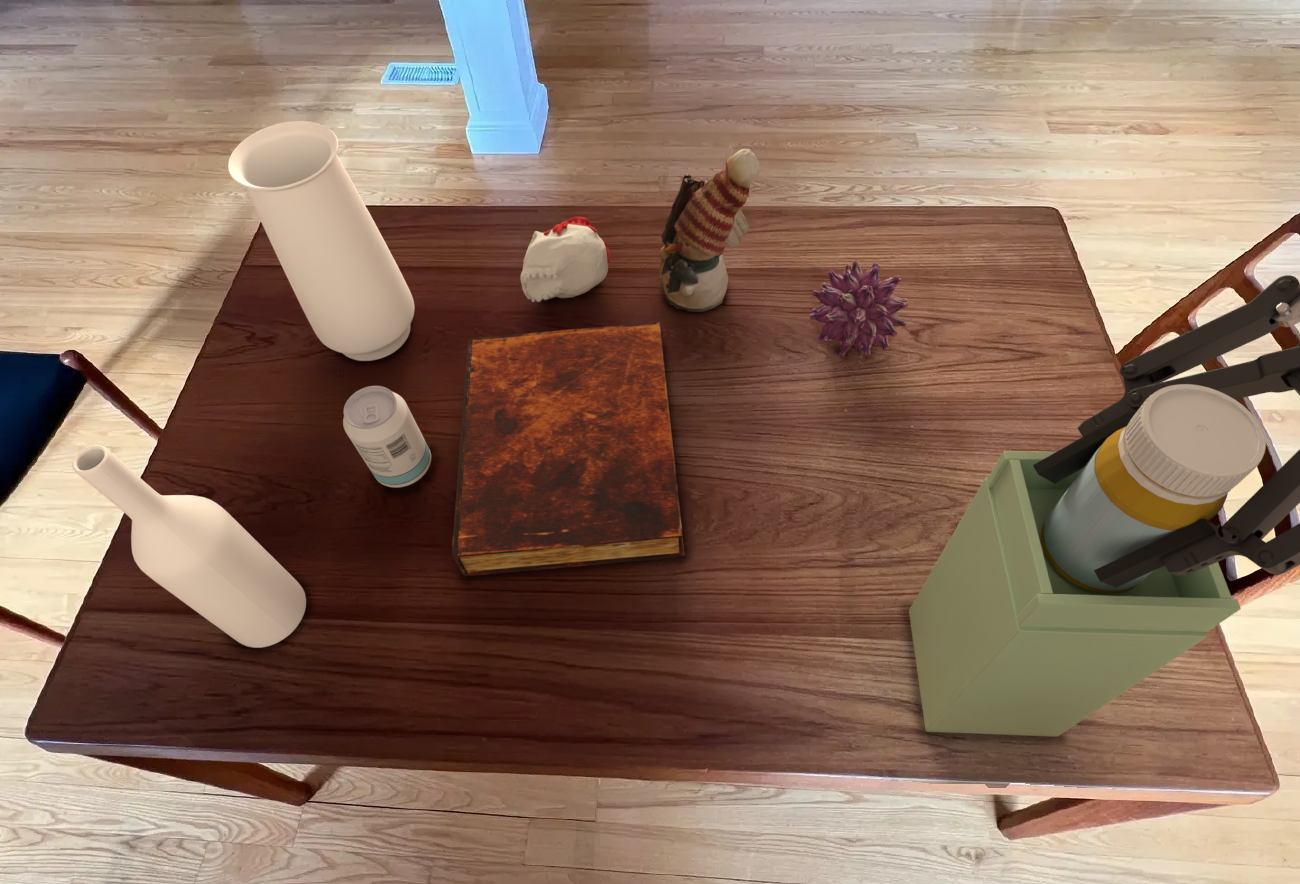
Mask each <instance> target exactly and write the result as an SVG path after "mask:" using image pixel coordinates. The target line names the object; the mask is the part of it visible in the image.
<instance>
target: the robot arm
mask: <svg viewBox="0 0 1300 884" xmlns="http://www.w3.org/2000/svg"><path fill="white" fill-rule="evenodd" d="M1299 323H1300V281H1299V279H1298V278H1297V277H1296V276H1294V275H1288V274H1286V275H1281V276H1279V277H1277V278H1275V280H1273V281H1272V282H1271V283H1270V284H1269V285H1268V286H1267V287H1266V288H1264V289H1263V290H1262V291H1261V292H1260V293H1258V294H1257V295H1256V296H1255V297H1254V298H1253V299H1251V300H1250V301H1249V302H1248V303H1246V304H1243V305H1242V306H1239V307H1236V308H1234V309H1233V310H1231V311H1229V312H1227V313H1224V314H1223V315H1221V316H1219V317H1216V318H1215V319H1212V320H1210V321H1208V322H1206V323H1203V324H1201V325H1200V326H1198V327H1196V328H1193V329H1190V331H1188V332H1187V331H1186V332H1185V333H1183V334H1180V335H1179V336H1177V337H1174V338H1172V339H1170V340H1168V341H1167V342H1164V343H1162V344H1160V345H1158V346H1156V347H1153V348H1152V349H1150V350H1147V351H1145V352H1144V353H1141V354H1139V355H1137V356H1134V357H1133V358H1130V359H1129V360H1127V361H1125V362H1123V363H1122V364H1121V366H1120V368H1119V374H1120V375H1121V377H1122V379H1123V384H1124V394H1123V396H1122V397H1121V398H1120V399H1119V400H1118V401H1116V402H1114V403H1113V404H1111V405H1109V406H1107V407H1106V408H1104V409H1102V410H1101V411H1099V412H1098V413H1096V414H1093V415H1092V416H1090V417H1088V418H1087V419H1085V420H1084V421H1083V420H1082V422H1081V423H1080V425H1079V426H1078V427H1077V430H1078V431H1079V433H1080V435H1081V436H1082V437H1080V438H1078V439H1076V440H1075V441H1073V442H1071V443H1069V444H1067V445H1066V446H1063V447H1062V448H1061V449H1059V450H1057V451H1054V452H1055V453H1053V454H1052V455H1050V456H1048V457H1046V458H1045V459H1043V460H1041V461H1039V462H1038V463H1036V464H1034V465H1033V466H1034V468H1035V470H1036V472H1037V473H1038V475H1040V476H1042V477H1043V478H1045V479H1047V480H1049V481H1051V482H1053V483H1054V484H1055V483H1057V482H1059V481H1061V480H1063V479H1064V478H1066V477H1068V476H1070V475H1072V474H1074V473H1075V472H1077V471H1079V470H1081V469H1083V468H1084V467H1085V466H1086V464H1087V463H1088V462H1089V460H1090V459H1091V458H1092V456H1093V455H1094V454H1095V452H1096V451H1097V450H1098V448H1099V447H1100V446H1101V445H1102V443H1103V442H1105V440H1106V439H1107V438H1108V437H1109V436H1111V435H1112V434H1113V433H1115V432H1116V431H1118V430H1120V429H1122V428H1124V427H1126V426H1127V425H1128V424H1129V422H1130V420H1131V419H1132V417H1133V416H1134V415H1135V413H1136V412H1137V411H1138V410H1139V408H1140V407H1141V406H1142V404H1143V403H1144V402H1145V400H1146V399H1147V398H1149V396H1150V395H1152V394H1153V393H1154V392H1156V391H1158V390H1160V389H1162V388H1165V387H1168V386H1172V385H1179V384H1191V385H1199V386H1204V387H1208V388H1211V389H1214V390H1217V391H1219V392H1222V393H1224V394H1226V395H1228V396H1230V397H1231V398H1233V399H1235V400H1239V399H1245V398H1249V397H1254V396H1258V395H1262V394H1267V393H1275V394H1277V393H1278V394H1280V393H1286V392H1291V391H1295V392H1296V393H1297V394H1298V396H1300V341H1299V342H1298V344H1297V345H1296V346H1294V347H1289V348H1286V349H1281V350H1277V351H1273V352H1269V353H1265V354H1262V355H1260V356H1258V357H1257V358H1255V359H1253V360H1249V361H1244V362H1241V363H1237V364H1233V365H1228V366H1223V367H1220V368H1216V369H1211V370H1208V371H1203V372H1199V373H1195V374H1191V375H1187V376H1186V375H1185V376H1182V377H1177V376H1179V375H1182V374H1183V373H1185V372H1188V371H1190V370H1192V369H1194V368H1196V367H1198V366H1201V365H1203V364H1205V363H1207V362H1209V361H1212V360H1214V359H1216V358H1219V357H1220V356H1223V355H1225V354H1227V353H1230V352H1232V351H1234V350H1236V349H1238V348H1240V347H1242V346H1245V345H1247V344H1250V343H1252V342H1254V341H1256V340H1258V339H1260V338H1262V337H1264V336H1266V335H1268V334H1270V333H1272V332H1273V331H1274V330H1275V331H1276V330H1277V329H1278V328H1279V327H1282V328H1291V327H1294V326H1295V325H1297V324H1299ZM1174 377H1177V378H1174ZM1172 378H1173V379H1172ZM1299 504H1300V448H1299V449H1298V450H1297V451H1296V452H1295V453H1294V454H1293V455H1292V456H1291V457H1290V458H1289V459H1288V460H1287V461H1286V462H1285V463H1284V464H1283V465H1282V466H1281V467H1280V468H1279V469H1278V470H1277V471H1276V472H1274V474H1273V475H1272V476H1270V478H1269V479H1268V480H1267V481H1265V483H1264V484H1263V485H1262V486H1261V487H1260V488H1259V489H1258V490H1257V491H1256V492H1255V493H1254V494H1252V496H1251V497H1249V499H1247V501H1245V502H1244V504H1243V505H1242V506H1240V508H1239V509H1238V510H1236V511H1235V513H1233V515H1232V516H1231V517H1230V518H1228V520H1226V522H1224V523H1223V524H1222V525H1221V524H1220V523H1217V525H1215V524H1214V523H1212V522H1211V521H1208V520H1206V519H1205V518H1204V519H1202V520H1200V521H1198V522H1195V523H1193V524H1191V525H1189V526H1187V527H1185V528H1183V529H1181V530H1178V531H1176V532H1174V533H1172V534H1170V535H1168V536H1166V537H1164V538H1161V539H1159V540H1157V541H1155V542H1153V543H1151V544H1149V545H1147V546H1144V547H1142V548H1140V549H1138V550H1136V551H1134V552H1132V553H1130V554H1127V555H1125V556H1123V557H1121V558H1119V559H1117V560H1115V561H1113V562H1110V563H1108V564H1106V565H1104V566H1102V567H1100V568H1098V569H1096V570H1094V572H1095V573H1096V575H1097V577H1098V579H1099V580H1100V582H1103V583H1105V584H1108V585H1110V586H1113V587H1119V586H1121V585H1123V584H1125V583H1127V582H1130V581H1132V580H1134V579H1136V578H1139V577H1141V576H1143V575H1145V574H1147V573H1150V572H1152V571H1154V570H1156V569H1158V568H1161V567H1163V566H1166V568H1167V569H1168V571H1169V572H1170V573H1172V574H1174V575H1176V576H1182V575H1189V574H1191V573H1193V572H1196V571H1197V570H1200V569H1203V568H1204V567H1207V566H1209V565H1212V564H1214V563H1216V562H1218V563H1219V562H1221V561H1223V560H1225V559H1228V558H1230V557H1234V556H1241V557H1244V558H1246V559H1248V560H1249V561H1251V562H1252V563H1254V564H1255V565H1256V566H1258V567H1259V568H1260V569H1262V570H1264V571H1265V572H1267V573H1269V574H1272V575H1282V574H1285V573H1287V572H1289V571H1291V570H1292V569H1294V568H1296V567H1297V566H1299V565H1300V522H1299V523H1298V524H1296V525H1294V526H1292V527H1291V528H1289V529H1287V530H1285V531H1284V532H1282V533H1280V534H1278V535H1277V536H1275V537H1273V538H1271V539H1269V540H1268V541H1264V540H1263V539H1264V538H1265V537H1267V535H1268V534H1269V533H1271V531H1272V530H1273V529H1275V527H1277V526H1278V525H1279V524H1280V523H1281V522H1282V521H1283V520H1284V519H1285V518H1286V517H1287V516H1288V515H1289V514H1290V513H1291V512H1292V511H1293V510H1294V509H1295V508H1296V507H1297V506H1298V505H1299Z"/></svg>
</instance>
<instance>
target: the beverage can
mask: <svg viewBox="0 0 1300 884" xmlns="http://www.w3.org/2000/svg"><path fill="white" fill-rule="evenodd" d="M342 419H343V420H342V425H343V426H342V427H343V429H344V432H345V433H346V435H347V437H348V438H349V440H350V441H351V442H352V444H353V446H354V448H355V449H356V451H357V452H358V454H359V456H361V458H362V460H363V462H364V463H365V464H366V466H367V468H368V470H369V471H370V472H371V474H372V476H373V477H374V478H375V479H376V481H377V482H378V483H380V485H383V486H385V487H389V488H403V487H404V488H405V487H408V486H410V485H412V484H414V483H416V482H418V481H419V480H420V479H422V478H423V476H425V474H426V473H427V472H428V470H429V468H430V466H431V463H432V453H431V450H430V448H429V446H428V443H427V441H426V439H425V438H424V435H423V433H422V431H421V430H420V428H419V426H418V424H417V421H416V420H415V418H414V416H413V414H412V412H411V410H410V408H409V406H408V404H407V402H406V401H405V399H404V398H403V396H401V395H400V394H398V393H396V392H394V391H392V390H391V389H389V388H387V387H385V386H382V385H370V386H365V387H363V388H361V389H360V388H359V390H357V391H355V392H354V393H352V395H351V396H350V397H349V398H348V399H347V400H346V402H345V404H344V407H343V418H342Z"/></svg>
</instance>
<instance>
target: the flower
mask: <svg viewBox="0 0 1300 884" xmlns="http://www.w3.org/2000/svg"><path fill="white" fill-rule="evenodd" d="M844 268H845V270H843V271H842V275H841V274H839V273H837V272H834V271H833V269H830V270H828V271H827V272H826V274H827V275H828V277H829V283H830V284H829V283H826V282H823V283H822V285H821V287H820V288H819V290H815V289H813V291H812V293H811V295H812V296H814V297H816V298H817V300H819V302H820V303H821V304H820V305H819V306H818V307H815V308H812V310H811V313H810V314H809V315H808V316H809V319H810V321H817V322H819V323H822V324H823V327H822V329H821V331H820V333H819V334H818V335H817V336H816V338H817V340H818V342H819V343H823V342H824V343H825V344H828V343H829V342H832V341H835V340H838V344H839V354H838V355H839V356H841V357H843V358H844V357H845V356H846V353H847V351H848V350H850V349H851V348H852V347H853V346H854V347H855V349H856V351H857V352H858V357H859V358H861V357H863V355H865V356H869V355H871V354H872V353H871V347H872V345H877V346H879V347H880V348H881V349H882V350H883V351H884V352H885V351H887V350H888V348H891V345H890V344H889V339H888V337H889V336H890V337H892V338H896V336H898V333H899V331H898V330H897V329H896V328H895V327H900V326H901V327H907V325H908V322H907V321H905V320H903V319H902V318H901V317H899V315H898V314H896V313H898V312H899V311H900V310H902V309H905V308H908V305H909V302H908V298H907V297H905V298H901V297H898V296H896V295H893V294H894V292H895V290H896V288H897V285H898V284H900V282H901V281H902V278H901V277H900V275H896V276H895V277H891V276H890V277H889V278H887V279H884V280H881V279H880V274H879V273H880V270H881V266H880V263H877V262H875V261H874V262H873V263H872V265H871V266H870V267H869V268H868V269H867V270H866V271H865V272H863V271H862V269H861V267H860V266H859V260H858V259H854V260H853V261H852V263H850V264H849V263H848V264H846V265H845V267H844ZM880 280H881V281H880Z"/></svg>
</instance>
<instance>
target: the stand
mask: <svg viewBox="0 0 1300 884" xmlns="http://www.w3.org/2000/svg"><path fill="white" fill-rule="evenodd" d="M1055 452H1056V451H1021V450H1020V451H1015V450H1014V451H1013V450H1011V451H1010V450H1009V451H1008V450H1004V451H1003V452H1002V453H1001V454H1000V456H999V458H998V459H997V462H995V464H994V467H993V468H992V470H991V471H990V474H989V475H988V477H987V476H986V477H984V479H983V481H982V483H981V485H980V486H979V488H978V490H977V492H976V493H975V495H974V496H973V498H972V500H971V502H970V504H969V505H968V507H967V509H966V510H965V512H964V514H963V515H962V517H961V519H960V521H959V523H958V525H956V528H955V529H954V531H953V533H952V535H951V536H950V538H949V540H948V542H947V543H946V545H945V547H944V548H943V551H942V552H941V554H940V556H939V557H938V559H937V561H936V562H935V564H934V566H933V567H932V569H931V571H930V573H929V575H928V576H927V578H926V580H925V582H924V583H923V585H922V587H921V589H920V590H919V592H918V593H917V596H916V597H915V599H914V600H913V602H912V604H911V606H910V608H909V609H908V614H909V615H908V616H909V623H910V631H911V635H912V644H913V651H914V659H915V664H916V665H915V666H916V672H917V673H916V674H917V680H918V688H919V694H920V701H921V708H922V716H923V723H924V729H925V732H928V733H951V734H952V733H954V734H978V735H979V734H980V735H1003V736H1004V735H1007V736H1028V737H1029V736H1031V737H1032V736H1033V737H1055V738H1056V737H1057V738H1058V737H1059V736H1061V735H1062V734H1064V733H1066V732H1067V731H1069V730H1070V729H1071V728H1073V727H1074V726H1076V725H1077V724H1079V723H1080V722H1082V721H1083V720H1085V719H1087V718H1089V716H1091V715H1092V714H1094V713H1095V712H1097V711H1098V710H1100V709H1101V708H1103V707H1104V706H1106V705H1107V704H1109V703H1111V702H1112V701H1113V700H1115V699H1117V698H1118V697H1119V696H1121V695H1122V694H1124V693H1125V692H1127V691H1128V690H1130V689H1132V688H1133V687H1134V686H1136V685H1138V684H1139V683H1141V682H1142V681H1144V680H1145V679H1146V678H1148V677H1150V676H1151V675H1152V674H1154V673H1156V672H1157V671H1158V670H1160V669H1162V668H1163V667H1165V666H1166V665H1168V664H1169V663H1171V662H1172V661H1173V660H1176V659H1177V658H1178V657H1179V656H1181V655H1183V654H1184V653H1185V652H1187V651H1189V650H1190V649H1192V648H1193V647H1194V646H1196V645H1198V644H1199V643H1201V642H1202V641H1203V640H1205V639H1207V638H1208V634H1207V633H1208V632H1209V631H1210V630H1213V628H1215V627H1217V626H1218V625H1219V624H1221V623H1223V622H1224V621H1225V620H1227V619H1228V618H1230V617H1231V616H1233V615H1234V614H1236V613H1237V612H1239V611H1240V610H1241V608H1242V607H1241V605H1240V603H1239V600H1238V599H1237V598H1232V597H1233V596H1232V594H1231V592H1230V590H1229V587H1228V584H1227V581H1226V580H1225V577H1224V573H1223V572H1222V569H1221V566H1220V563H1219V562H1216V563H1214V564H1212V565H1209V566H1207V567H1204V568H1203V569H1200V570H1197V571H1196V572H1193V573H1191V574H1189V575H1182V576H1176V575H1174V574H1172V573H1170V572H1169V571H1168V569H1167V568H1166V566H1163V567H1161V568H1158V569H1156V570H1154V571H1153V572H1152V573H1151V574H1150V575H1149V576H1147V577H1146V578H1145V579H1144V580H1143V581H1142V582H1140V583H1139V584H1138V585H1136V586H1135V587H1134V588H1132V589H1130V590H1127V591H1124V592H1121V593H1116V594H1102V593H1097V592H1093V591H1089V590H1086V589H1083V588H1081V587H1079V586H1077V585H1075V584H1073V583H1072V582H1070V581H1068V580H1067V579H1065V578H1064V577H1063V576H1062V575H1061V574H1060V573H1059V572H1058V571H1057V570H1056V569H1055V568H1054V567H1053V566H1052V564H1051V563H1050V561H1049V560H1048V558H1047V557H1046V555H1045V553H1044V549H1043V546H1042V542H1041V533H1042V526H1043V524H1044V522H1045V520H1046V519H1047V517H1048V515H1049V514H1050V512H1051V511H1052V509H1053V508H1054V507H1055V505H1056V504H1057V503H1058V501H1059V500H1060V499H1061V497H1062V496H1063V495H1064V493H1065V492H1066V491H1067V489H1068V488H1069V487H1070V486H1071V484H1072V483H1073V482H1074V480H1075V479H1076V478H1077V476H1078V475H1079V474H1080V472H1081V471H1082V470H1083V469H1081V470H1079V471H1077V472H1075V473H1074V474H1072V475H1070V476H1068V477H1066V478H1064V479H1063V480H1061V481H1059V482H1057V483H1055V484H1054V483H1053V482H1051V481H1049V480H1047V479H1045V478H1043V477H1042V476H1040V475H1038V473H1037V472H1036V470H1035V468H1034V466H1033V465H1034V464H1036V463H1038V462H1039V461H1041V460H1043V459H1045V458H1046V457H1048V456H1050V455H1052V454H1053V453H1055Z"/></svg>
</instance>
